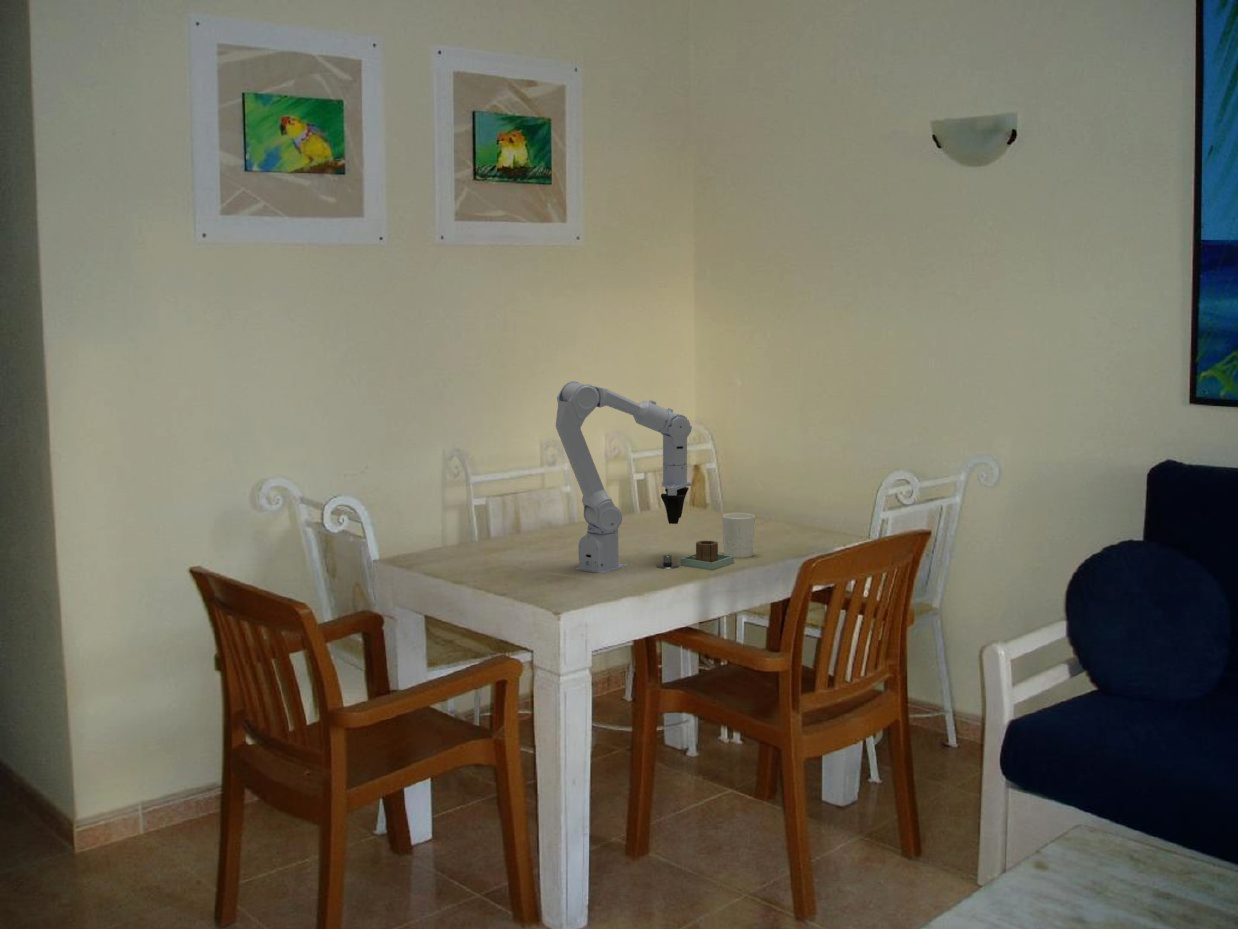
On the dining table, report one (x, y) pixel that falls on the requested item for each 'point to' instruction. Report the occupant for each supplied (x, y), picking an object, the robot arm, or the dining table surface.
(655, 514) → the dining table surface
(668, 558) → the dark grey round stand
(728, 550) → the white cup
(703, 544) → the brown hollow octagonal cylinder
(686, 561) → the tray
